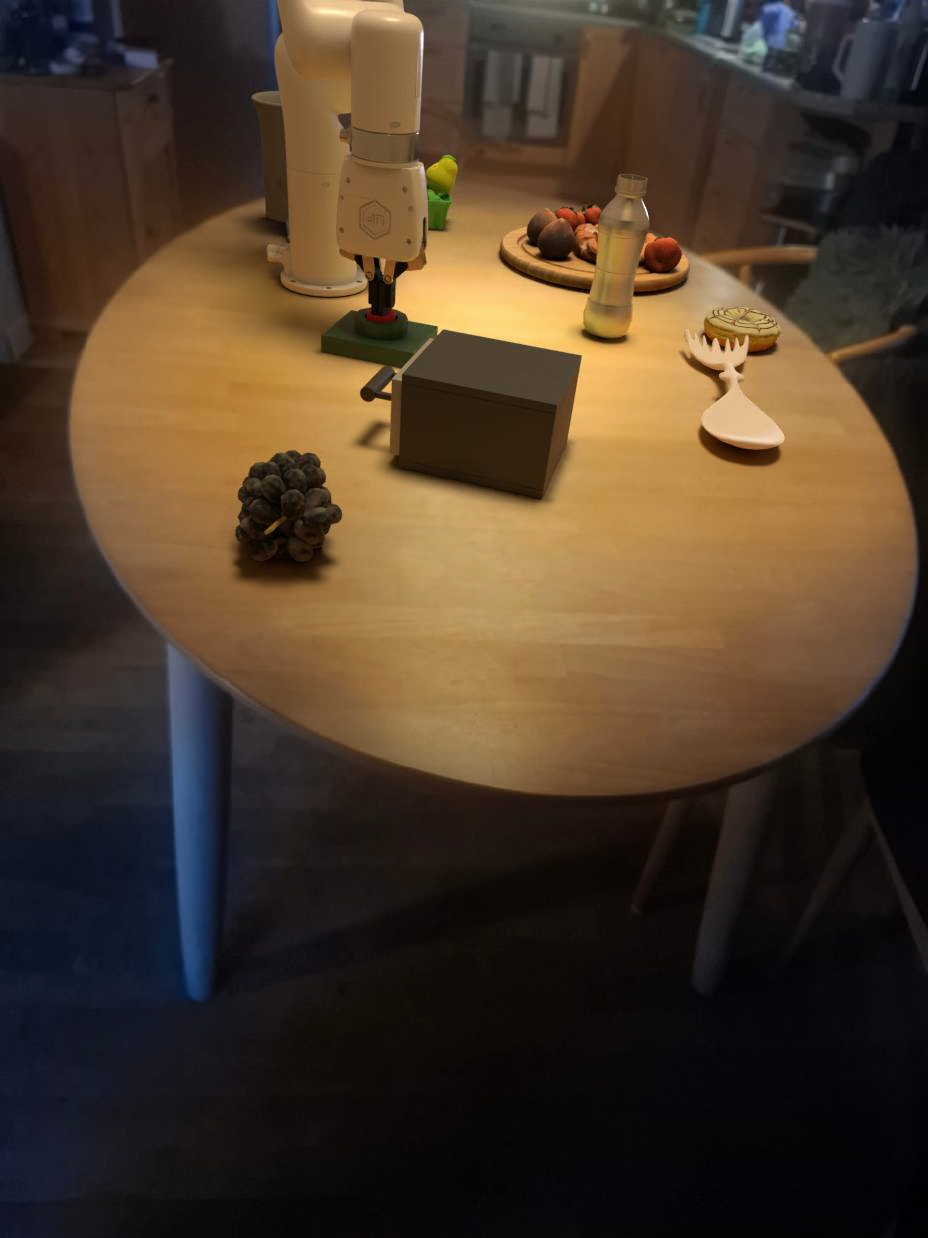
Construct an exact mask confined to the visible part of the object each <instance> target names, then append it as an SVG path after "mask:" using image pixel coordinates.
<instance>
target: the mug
mask: <svg viewBox="0 0 928 1238" xmlns="http://www.w3.org/2000/svg"><path fill="white" fill-rule="evenodd" d="M250 98H251V101H252V103H253V105H254V107H255V109H256V111H257V112H256V113H257V117H258V122H259V129H260V138H261V139H260V141H261V142H260V144H261V157H262V159H261V160H262V172H263V174H262V175H263V188H264V201H265V202H264V203H265V204H264V205H265V214H264V219H266V220H270V219H271V220H273V221H275V222H281V223H285V227H286V233H287V238H286V240H287V241H288V242H289V243H290V234H289V210H288V187H287V164H286V144H285V129H284V119H283V111H282V104H281V99H280V93H279V90H270V91H261V92H256V93H254V94H252V95H251V97H250Z"/></svg>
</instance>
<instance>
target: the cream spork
mask: <svg viewBox="0 0 928 1238" xmlns="http://www.w3.org/2000/svg"><path fill="white" fill-rule="evenodd" d="M693 335H694V336H693V337H692V335H691V333H690V331H689V329H688V327H685V330H684V335H683V336H684V339H685V342H686V344H687V346H688V348H689V349H690V351H691V353H692V355H693V356H694V357H695V359H696V360H698V361H699V362H700V363H701V364H702V365H704V366H706V367H708V368H710V369H711V370H715V371H723V372H720V373H719V374H718V376H719V379H720V380H721V381H724V382H726V383H728V385H729V388H728V391H727V392H726V393H725V394H724V395H723V396H722V397H720V398H719V399H718V400H716V401H715V402H713V403H712V404H710V406H708V407H707V408H706V409H705V410H704V411H703V413H702V415H701V424H702V427H703V428H704V429H705V431H706V432H707V433H708V434H710V435H711V436H713V437H714V438H716V439H717V440H719V441H721V442H723V443H725V444H729V445H731V446H733V447H737V448H740V449H746V450H757V451H758V450H767V449H772V448H776V447H778V446H779V445H780V446H781V444H782V443H784V442H785V439H786V438H785V434H784V432H783V431H782V430H781V428H780V427H779V426H778V425H777V423H776V422H775V421H774V420H773V419H772V418H771V417H770V416H769V415H767V414H766V413H765V412H764V411H763V410H762V409H760V408H759V407H758V405H756V404H755V403H754V402H752V401H751V400H750V399H749V398H748V397H747V396H746V394H745V393H744V392H743V391H742V389H741V387H740V385H739V383H742V382H744V381H745V380H746V379H745V376H744V375H743V374H742V373H740V372H738V371H737V370H736V368H737V367H739V366H741V364H743V363H744V362H745V361H746V358H747V356H748V352H747V351H748V347H749V338H748V335H746V336H745V339H744V343H743V346H741V347H740V345H739V341H738V339H737V337H736V339H735V344H734V350H731V348H730V343H729V339H728V338H727V339H726V344H725V347H724V351H723V352H722V349H721V346H720V345H719V342H718V340H717V339H716V338H715V339H714V340H713V341H712V344H711V348H710V349H709V346H708V342H707V339H706V336H705V335H702V339H701V342H700V340H699V337H698V333H697V332H694V334H693Z"/></svg>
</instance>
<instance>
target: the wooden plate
mask: <svg viewBox="0 0 928 1238" xmlns="http://www.w3.org/2000/svg"><path fill="white" fill-rule="evenodd" d="M601 213H602V209H601V208H600V207H599V206H597V204H593V203H588V204H585V205H583V206H582V207H581V210H579V209H577V208H574V207H573V206H572V207H571V206H570V207H568V206H563V205H562V206H561V207H560V208H559V209H557V210H555V211H551V210H550V209H549V208H548V207H545V208H543V209H541V210H539V211H538V212H536V213H535V214H534V215H533V216H532V217H531V219H530V220H529V221H528V224H527V226H524V227H520V228H516V229H514V230H512V231H510V232H508V233H506V235H504V236H503V237H502V239H501V241H500V244H499V251H500V255H501V257H502V258H503V259H504V260H505V262H506V263H508V264H509V265H510V266H511V267H513V268H515V269H517V270H519V271H520V272H522V273H525V274H527V275H530V276H531V277H535V278H538V279H540V280H542V281H547V282H550V283H553V284H558V285H562V286H567V287H572V288H577V289H578V288H579V289H585V290H591V287H592V282H593V278H594V274H595V267H596V264H597V262H596V258H597V249H598V222H599V217H600V215H601ZM678 243H679V241H678V240H677V239H674V238H673V237H670V236H668V235H667V236H665V237H663V236H656V235H655V234H654V233H648V234H647V237H646V240H645V243H644V246H643V249H642V252H641V255H640V259H639V263H638V267H637V269H636V270H637V272H636V276H635V282H634V291H633V293H637V292H652V291H659V290H665V289H667V288H671V287H674V286H677V285H678V284H680V283H681V282H683V281H684V280H685V279H686V278H687V277H688V275H689V273H690V269H691V268H690V267H691V265H690V261H689V259H688V258H687V256H686V255H685V254H684V253H683V252H682V251H683V250H682V249H681V247H680V245H679V244H678Z"/></svg>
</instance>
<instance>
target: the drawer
mask: <svg viewBox="0 0 928 1238" xmlns="http://www.w3.org/2000/svg"><path fill="white" fill-rule="evenodd" d="M433 340H434V339H432V338H429V340H428V341H427V342H426V343H425V344H424V345H423V346H422V347H421V348H420V349H419V350H418V351H417V352H416V354H415V355H414V356H413V357H412V358H411V359H410V360H409V361H408V362H407V363H406V364H405V365H404V366H403V367H402V368H400V369H399V371H398V372H395V369H394V368H393V366H389V365H383V366H382V367H380V369H379V370H378V371H377V372H376V373H375V374H374V375H373V376H372V377H371V378H370V379H369V380H368V381H367V382H366V383H365V384H364V385H363V386H362V387H361V388H360V390H359V396H360V398H361V399H362V401H364V402H366V403H371V402H373V401H375V400H376V399H378V400H382V401H388V402H390V424H389V425H390V426H389V427H390V428H389V430H390V431H389V432H390V433H389V454H390V455H394V456H398V457H399V441H400V415H401V389H402V374H403V372H404V371H405V370H406V369H407V368H408V367H409V366H410V365H411V364H412V363H413V362H414V360H415V359H416V358H417V357H418V356H419V355H420V354H421V353H422V352H423V351H424V350H425V348H426V347H427V346H428V345H429V344H430V343H431V342H432V341H433ZM389 384H391V389H390V391H391V392H386V391H383V390H385V388H386V387H387V386H388V385H389Z"/></svg>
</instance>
